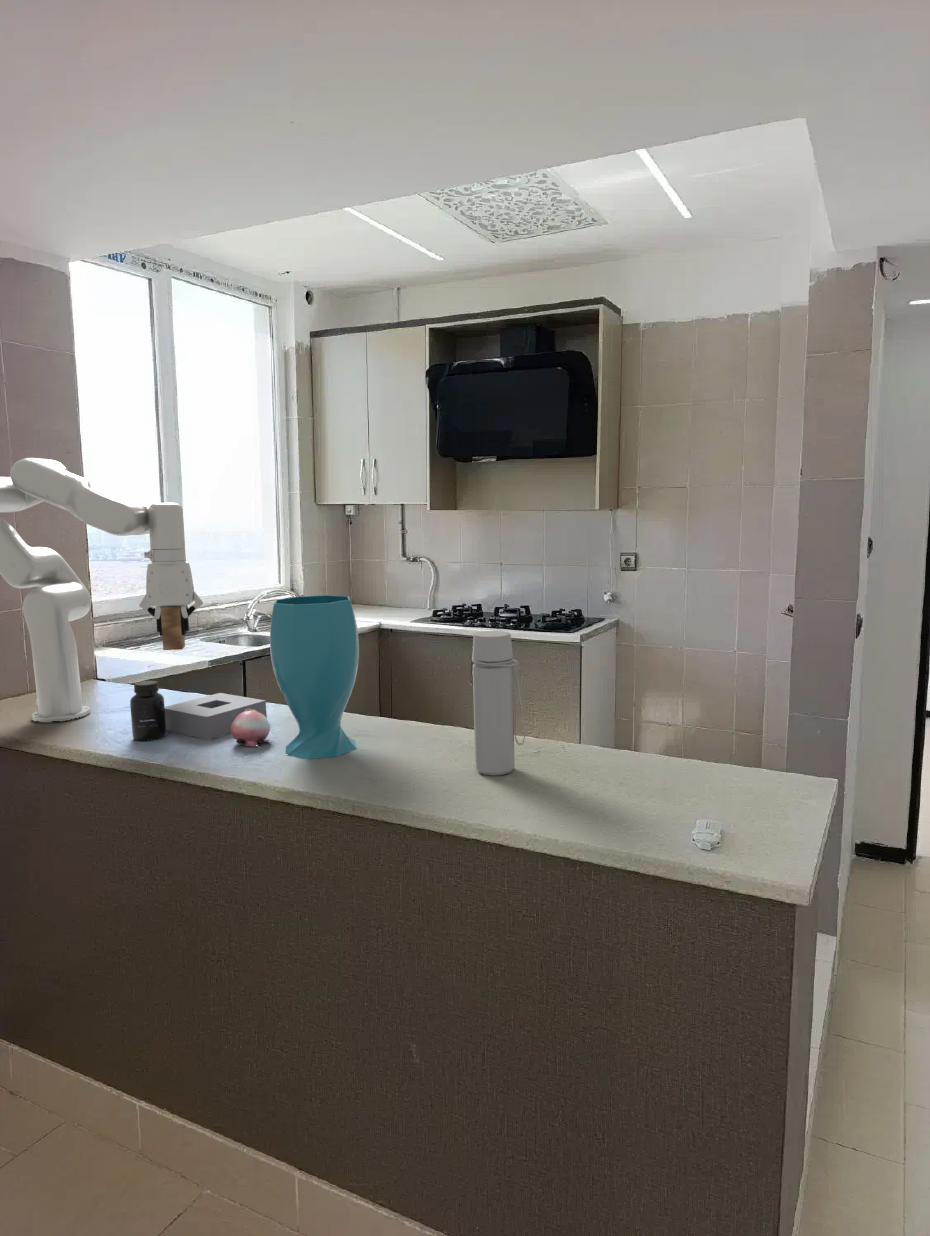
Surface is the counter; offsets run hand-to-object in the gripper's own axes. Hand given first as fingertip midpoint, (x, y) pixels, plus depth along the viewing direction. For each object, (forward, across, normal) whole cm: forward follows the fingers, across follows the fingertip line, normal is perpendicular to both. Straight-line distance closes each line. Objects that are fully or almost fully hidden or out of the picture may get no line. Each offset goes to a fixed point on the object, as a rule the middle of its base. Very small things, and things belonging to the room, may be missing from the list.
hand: (173, 634), depth 188 cm
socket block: (+19, +10, -12) cm, 25 cm away
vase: (+19, +33, -36) cm, 52 cm away
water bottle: (+18, +65, -59) cm, 90 cm away
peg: (+3, 0, 0) cm, 3 cm away
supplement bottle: (+20, -3, -18) cm, 27 cm away
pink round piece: (+19, +19, -28) cm, 39 cm away
